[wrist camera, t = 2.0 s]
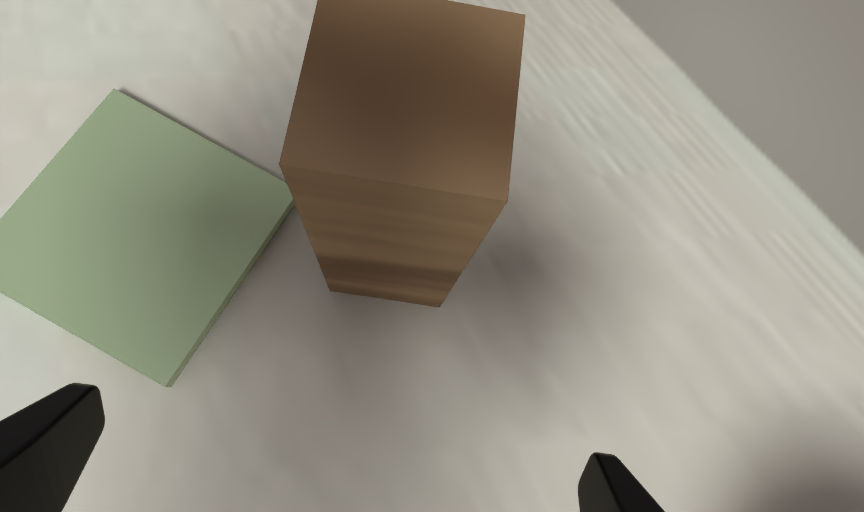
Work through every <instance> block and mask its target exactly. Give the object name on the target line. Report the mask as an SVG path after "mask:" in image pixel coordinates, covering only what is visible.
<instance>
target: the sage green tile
mask: <svg viewBox="0 0 864 512" xmlns="http://www.w3.org/2000/svg"><path fill="white" fill-rule="evenodd" d="M294 204H295V202H294V200H293V197H292V195H291V192H290V190H289V187H288V185H287V183H285V182H284V181H282V180H280V179H278V178H276V177H274V176H273V175H271V174H269V173H267V172H265V171H264V170H262V169H260V168H258V167H256V166H254V165H253V164H251V163H249V162H247V161H245V160H243V159H242V158H240V157H238V156H236V155H234V154H233V153H231V152H229V151H227V150H225V149H223V148H222V147H220V146H218V145H216V144H214V143H213V142H211V141H209V140H207V139H205V138H203V137H202V136H200V135H198V134H196V133H194V132H192V131H191V130H189V129H187V128H185V127H183V126H182V125H180V124H178V123H176V122H174V121H172V120H171V119H169V118H167V117H165V116H163V115H162V114H160V113H158V112H156V111H154V110H152V109H151V108H149V107H147V106H145V105H143V104H142V103H140V102H138V101H136V100H134V99H132V98H131V97H129V96H127V95H125V94H123V93H121V92H120V91H118V90H116V89H113V90H112V91H111V92H110V94H109V95H108V96H107V97H106V98H105V99H104V100H103V102H102V103H101V104H100V105H99V106H98V107H97V108H96V110H95V111H94V112H93V113H92V114H91V115H90V117H89V118H88V119H87V120H86V121H85V122H84V123H83V125H82V126H81V127H80V128H79V129H78V130H77V132H76V133H75V134H74V135H73V136H72V137H71V138H70V140H69V141H68V142H67V143H66V144H65V145H64V147H63V148H62V149H61V150H60V151H59V152H58V153H57V155H56V156H55V157H54V158H53V159H52V160H51V161H50V163H49V164H48V165H47V166H46V167H45V168H44V170H43V171H42V172H41V173H40V174H39V175H38V176H37V178H36V179H35V180H34V181H33V182H32V183H31V185H30V186H29V187H28V188H27V189H26V190H25V191H24V193H23V194H22V195H21V196H20V197H19V198H18V199H17V201H16V202H15V203H14V204H13V205H12V206H11V208H10V209H9V210H8V211H7V212H6V213H5V214H4V216H3V217H2V218H1V219H0V292H1V293H2V294H4V295H6V296H8V297H9V298H11V299H13V300H15V301H16V302H18V303H20V304H22V305H23V306H25V307H27V308H29V309H30V310H32V311H34V312H36V313H37V314H39V315H41V316H43V317H44V318H46V319H48V320H50V321H51V322H53V323H55V324H56V325H58V326H60V327H62V328H63V329H65V330H67V331H69V332H70V333H72V334H74V335H76V336H77V337H79V338H81V339H83V340H84V341H86V342H88V343H90V344H91V345H93V346H95V347H97V348H98V349H100V350H102V351H104V352H105V353H107V354H109V355H111V356H112V357H114V358H116V359H118V360H119V361H121V362H123V363H124V364H126V365H128V366H130V367H131V368H133V369H135V370H137V371H138V372H140V373H142V374H144V375H145V376H147V377H149V378H151V379H152V380H154V381H156V382H158V383H159V384H161V385H163V386H165V387H171V386H172V385H173V383H174V382H175V380H176V379H177V377H178V376H179V374H180V373H181V371H182V370H183V369H184V367H185V366H186V364H187V363H188V361H189V360H190V358H191V357H192V355H193V354H194V352H195V351H196V349H197V348H198V346H199V345H200V343H201V342H202V340H203V339H204V337H205V336H206V335H207V333H208V332H209V330H210V329H211V327H212V326H213V324H214V323H215V321H216V320H217V318H218V317H219V315H220V314H221V312H222V311H223V309H224V308H225V306H226V305H227V304H228V302H229V301H230V299H231V298H232V296H233V295H234V293H235V292H236V290H237V289H238V287H239V286H240V284H241V283H242V281H243V280H244V278H245V277H246V275H247V274H248V272H249V271H250V270H251V268H252V267H253V265H254V264H255V262H256V261H257V259H258V258H259V256H260V255H261V253H262V252H263V250H264V249H265V247H266V246H267V244H268V243H269V241H270V240H271V238H272V237H273V236H274V234H275V233H276V231H277V230H278V228H279V227H280V225H281V224H282V222H283V221H284V219H285V218H286V216H287V215H288V213H289V212H290V210H291V209H292V207H293V206H294Z"/></svg>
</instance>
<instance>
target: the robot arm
mask: <svg viewBox="0 0 864 512" xmlns="http://www.w3.org/2000/svg"><path fill="white" fill-rule="evenodd" d="M104 424H105V415H104V410H103V405H102V399H101V394H100V390H99V389H98V387H97V386H94V385H89V384H81V383H72V384H69V385H66V386H65V387H63V388H61V389H59V390H57V391H55V392H53V393H52V394H50V395H48V396H46V397H44V398H42V399H40V400H38V401H37V402H35V403H33V404H31V405H29V406H27V407H25V408H24V409H22V410H20V411H18V412H16V413H14V414H12V415H11V416H9V417H7V418H5V419H3V420H1V421H0V512H62V510H63V508H64V506H65V504H66V503H67V501H68V499H69V497H70V495H71V493H72V491H73V489H74V487H75V485H76V483H77V481H78V479H79V477H80V475H81V473H82V471H83V469H84V467H85V465H86V463H87V461H88V459H89V457H90V455H91V453H92V451H93V449H94V447H95V445H96V443H97V441H98V439H99V437H100V435H101V433H102V431H103V428H104ZM578 498H579V507H580V512H665V511H664V510H663V509H662V508H661V507H660V506H659V504H658V503H657V502H656V501H655V500H654V499H653V497H652V496H651V495H650V494H649V493H648V492H647V491H646V489H645V488H644V487H643V486H642V485H641V484H640V483H639V481H638V480H637V479H636V478H635V477H634V476H633V475H632V473H631V472H630V471H629V470H628V469H627V468H626V467H625V465H624V464H623V463H622V462H621V461H620V460H619V459H618V458H617V457H616V456H615V455H612V454H605V453H598V452H595V453H593V454H592V455H591V456H590V458H589V460H588V462H587V464H586V467H585V469H584V471H583V473H582V475H581V478H580V480H579V484H578Z"/></svg>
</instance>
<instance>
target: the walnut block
mask: <svg viewBox="0 0 864 512" xmlns="http://www.w3.org/2000/svg"><path fill="white" fill-rule="evenodd" d="M524 25H525V15H523V14H518V13H512V12H507V11H502V10H496V9H491V8H486V7H480V6H475V5H469V4H464V3H459V2H453V1H448V0H318V1H317V6H316V10H315V14H314V18H313V23H312V27H311V31H310V35H309V40H308V44H307V48H306V52H305V57H304V61H303V65H302V69H301V74H300V78H299V82H298V86H297V91H296V95H295V99H294V103H293V108H292V112H291V116H290V120H289V125H288V129H287V133H286V137H285V142H284V146H283V150H282V154H281V159H280V163H279V165H280V168H281V170H282V173H283V175H284V177H285V180H286V182H287V185H288V187H289V190H290V192H291V195H292V197H293V200H294V202H295V205H296V207H297V210H298V212H299V215H300V217H301V220H302V222H303V225H304V227H305V230H306V232H307V235H308V237H309V240H310V242H311V245H312V247H313V250H314V252H315V255H316V257H317V260H318V262H319V265H320V267H321V270H322V272H323V275H324V277H325V279H326V282H327V284H328V287H329V289H330V291H336V292H342V293H349V294H356V295H362V296H369V297H376V298H382V299H389V300H396V301H403V302H409V303H416V304H423V305H429V306H436V307H440V305H441V304H442V302H443V301H444V299H445V297H446V296H447V294H448V293H449V291H450V290H451V288H452V287H453V285H454V284H455V282H456V280H457V279H458V277H459V276H460V274H461V273H462V271H463V270H464V268H465V266H466V265H467V263H468V262H469V260H470V259H471V257H472V256H473V254H474V253H475V251H476V249H477V248H478V246H479V245H480V243H481V242H482V240H483V239H484V237H485V235H486V234H487V232H488V231H489V229H490V228H491V226H492V225H493V223H494V222H495V220H496V218H497V217H498V215H499V214H500V212H501V211H502V209H503V208H504V206H505V204H506V203H507V201H508V191H509V180H510V170H511V160H512V149H513V139H514V129H515V118H516V108H517V98H518V87H519V77H520V67H521V56H522V46H523V36H524Z"/></svg>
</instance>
